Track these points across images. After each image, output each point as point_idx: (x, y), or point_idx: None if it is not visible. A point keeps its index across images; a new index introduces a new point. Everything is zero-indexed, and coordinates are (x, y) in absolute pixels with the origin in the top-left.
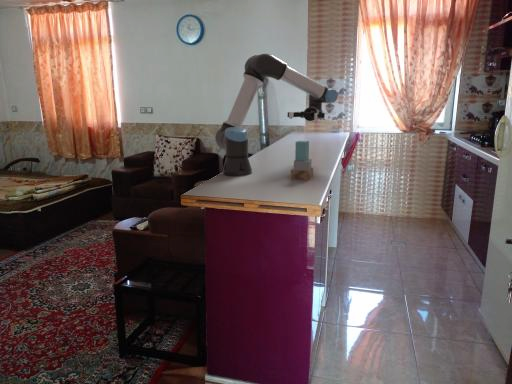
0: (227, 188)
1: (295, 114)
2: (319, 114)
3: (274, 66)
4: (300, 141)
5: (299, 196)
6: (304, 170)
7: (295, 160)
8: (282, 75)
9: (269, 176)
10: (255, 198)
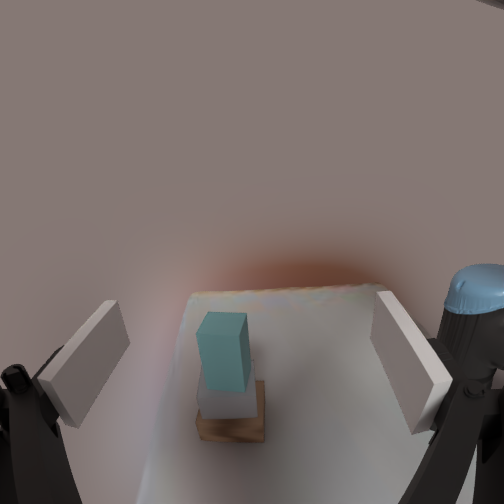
0: (357, 313)
1: (427, 457)
2: (59, 348)
3: None
4: (229, 321)
5: (218, 310)
6: None
7: (251, 369)
8: None
9: (341, 409)
10: (281, 293)
